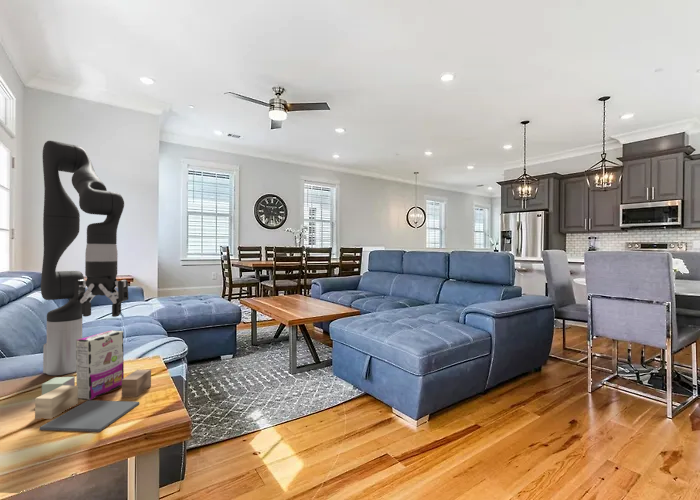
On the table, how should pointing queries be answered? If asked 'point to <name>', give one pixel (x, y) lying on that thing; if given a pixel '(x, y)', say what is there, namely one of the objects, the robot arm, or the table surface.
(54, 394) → the beech block
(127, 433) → the table surface
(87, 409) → the mat
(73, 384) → the sage cube
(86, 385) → the candy bar box
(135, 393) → the walnut block
